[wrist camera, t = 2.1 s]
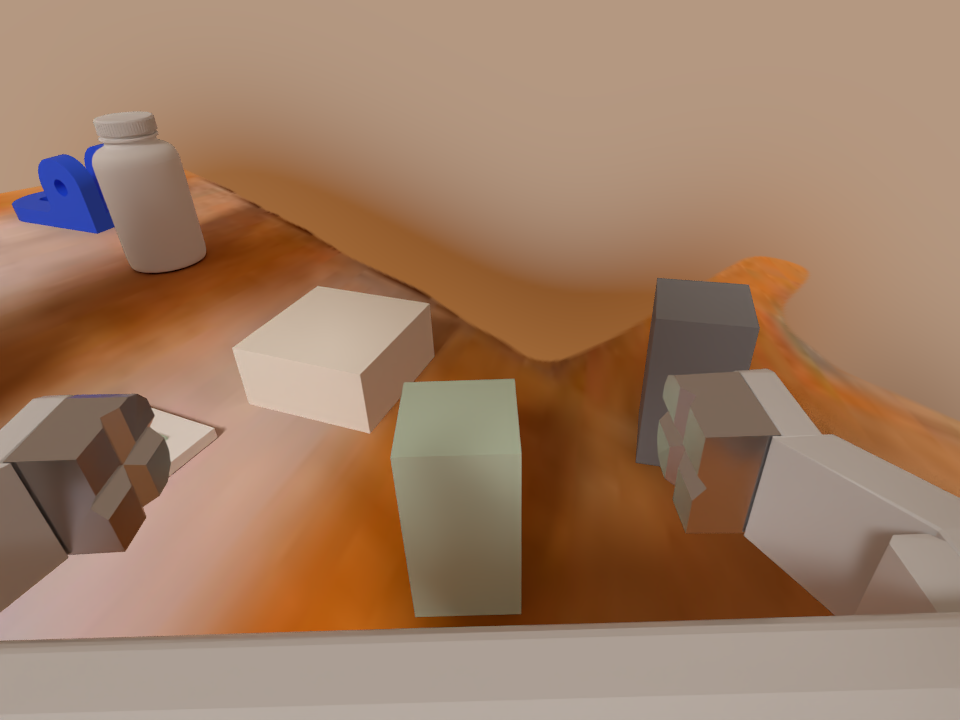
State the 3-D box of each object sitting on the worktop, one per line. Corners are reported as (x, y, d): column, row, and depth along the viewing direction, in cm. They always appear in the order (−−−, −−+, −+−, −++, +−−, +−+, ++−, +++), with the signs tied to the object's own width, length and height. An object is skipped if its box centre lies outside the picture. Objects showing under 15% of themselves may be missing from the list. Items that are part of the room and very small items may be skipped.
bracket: (152, 213, 81) (128, 144, 76) (98, 234, 74) (68, 160, 70) (62, 200, 87) (35, 136, 82) (5, 219, 81) (-28, 151, 76)
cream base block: (250, 406, 43) (232, 347, 41) (328, 339, 51) (317, 285, 48) (370, 436, 40) (359, 374, 37) (434, 359, 48) (429, 303, 45)
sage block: (415, 616, 28) (390, 457, 23) (423, 533, 32) (403, 382, 27) (521, 613, 28) (521, 453, 23) (515, 530, 32) (514, 378, 27)
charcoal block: (635, 462, 37) (656, 318, 31) (638, 413, 41) (657, 278, 35) (722, 475, 35) (759, 328, 30) (717, 422, 39) (748, 284, 34)
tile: (23, 483, 37) (15, 471, 36) (134, 409, 43) (129, 398, 42) (111, 522, 34) (105, 510, 33) (217, 437, 40) (213, 425, 39)
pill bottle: (223, 249, 68) (183, 108, 60) (174, 278, 62) (121, 126, 54) (166, 243, 70) (121, 107, 62) (113, 271, 64) (54, 123, 56)
